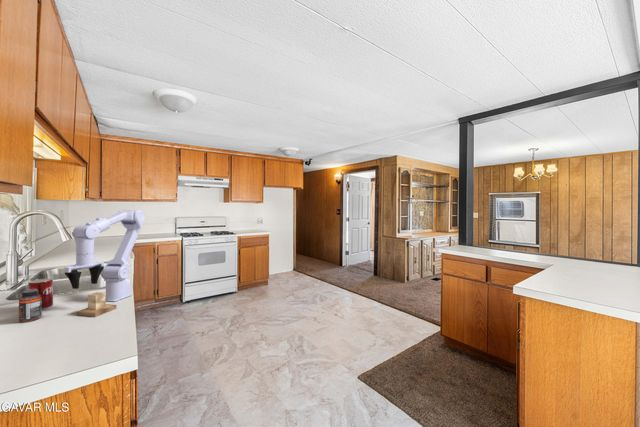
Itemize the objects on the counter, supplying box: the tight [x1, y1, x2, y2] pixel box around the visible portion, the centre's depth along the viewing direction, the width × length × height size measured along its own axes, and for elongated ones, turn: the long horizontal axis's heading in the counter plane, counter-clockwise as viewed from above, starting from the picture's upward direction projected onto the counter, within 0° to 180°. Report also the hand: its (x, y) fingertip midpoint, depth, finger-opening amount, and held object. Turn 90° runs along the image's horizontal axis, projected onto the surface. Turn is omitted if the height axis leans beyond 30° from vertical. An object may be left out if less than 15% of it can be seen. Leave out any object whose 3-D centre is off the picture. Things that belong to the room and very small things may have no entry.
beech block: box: [87, 291, 106, 310], centre depth 110 cm, size 4×4×6 cm
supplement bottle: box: [18, 289, 43, 323], centre depth 102 cm, size 6×6×11 cm
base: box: [76, 303, 117, 318], centre depth 110 cm, size 9×9×2 cm
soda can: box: [27, 278, 54, 311], centre depth 114 cm, size 7×7×12 cm
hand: (85, 286), depth 111 cm, fingers open, 7 cm apart
